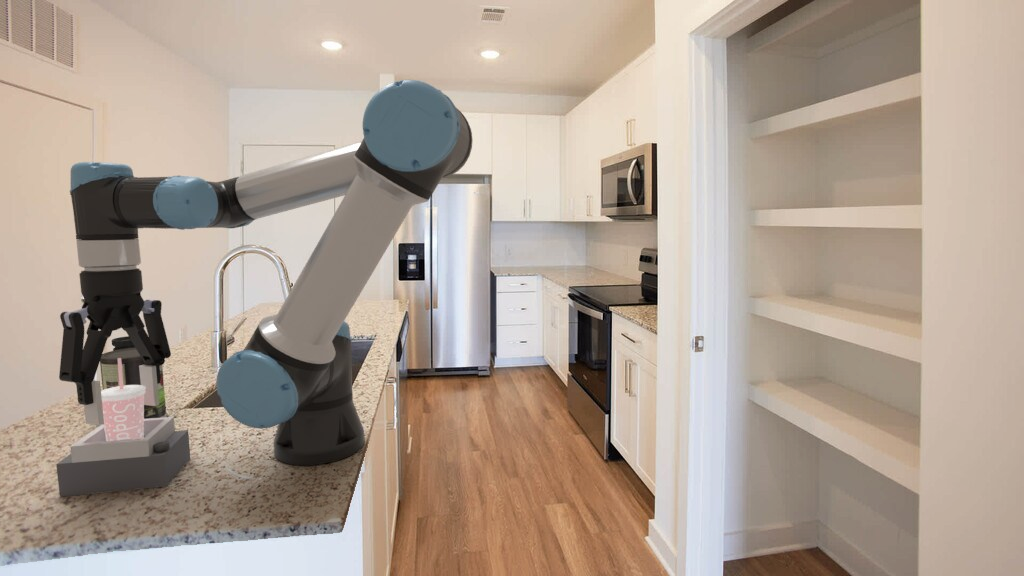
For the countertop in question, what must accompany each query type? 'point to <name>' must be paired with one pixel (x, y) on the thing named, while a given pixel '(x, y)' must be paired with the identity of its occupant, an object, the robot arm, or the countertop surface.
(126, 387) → the beverage cup
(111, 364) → the coffee can
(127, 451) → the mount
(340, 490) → the countertop surface
